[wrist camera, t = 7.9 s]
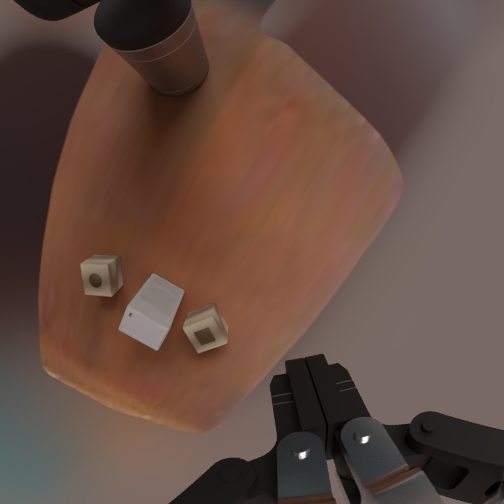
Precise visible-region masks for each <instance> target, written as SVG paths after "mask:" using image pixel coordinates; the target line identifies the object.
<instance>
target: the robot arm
mask: <svg viewBox="0 0 504 504" xmlns="http://www.w3.org/2000/svg"><path fill="white" fill-rule="evenodd" d="M14 1H15V2H16V3H17V4H19V5H20V6H21V7H22V8H24V9H25V10H26V11H28V12H29V13H31V14H33V15H34V16H36V17H38V18H41V19H43V20H48V21H58V20H62V19H64V18H67V17H69V16H71V15H73V14H76V13H78V12H80V11H82V10H83V9H86V8H88V7H90V6H92V5H94V4H96V3H98V2H100V1H101V2H100V4H99V5H98V7H97V10H96V13H95V16H94V27H95V30H96V32H97V34H98V35H99V37H100V38H101V39H102V40H103V41H104V42H105V43H107V44H108V45H109V46H110V47H111V48H112V49H113V50H114V51H115V52H116V53H118V54H119V55H120V56H121V57H122V58H123V59H124V60H125V61H126V62H127V63H128V64H130V65H131V66H132V67H133V68H134V69H135V70H136V71H137V72H138V73H139V74H140V75H141V76H142V77H143V78H144V79H145V80H146V81H147V82H148V83H149V84H150V85H151V86H152V87H154V88H155V89H156V90H157V91H158V92H160V93H162V94H164V95H168V96H179V95H183V94H187V93H189V92H191V91H193V90H194V89H196V88H197V87H198V86H199V85H200V84H201V83H202V82H203V81H204V79H205V78H206V76H207V73H208V68H209V63H208V58H207V55H206V51H205V47H204V44H203V40H202V37H201V33H200V30H199V26H198V23H197V19H196V16H195V13H194V10H193V6H192V3H191V0H14ZM285 366H286V374H281V375H275V376H274V377H273V379H272V381H271V383H270V391H271V398H272V405H273V411H274V418H275V425H276V432H277V441H276V444H275V446H274V447H273V448H272V450H271V451H270V452H269V453H267V454H265V455H264V456H261V457H259V458H257V459H254V460H252V461H249V462H248V461H246V460H243V459H240V458H226V459H222V460H220V461H218V462H216V463H215V464H214V465H213V466H211V467H210V468H209V469H208V470H207V471H206V472H205V473H204V474H203V475H202V476H201V477H199V478H198V479H197V480H196V481H195V482H194V483H193V484H191V485H190V486H189V487H188V488H187V489H186V490H185V491H183V492H182V493H181V494H180V495H179V496H177V497H176V498H175V499H174V500H172V501H171V502H170V503H169V504H336V500H335V498H333V495H332V490H331V484H330V478H329V472H328V466H327V461H326V460H330V459H333V460H334V463H335V466H336V470H335V476H336V479H337V482H338V484H339V486H340V489H341V491H342V494H343V496H344V499H345V501H346V504H444V503H443V501H442V500H441V498H440V496H439V495H443V496H446V497H449V498H452V499H456V500H460V501H464V502H468V503H472V504H504V430H500V429H496V428H492V427H488V426H484V425H479V424H475V423H472V422H468V421H465V420H461V419H458V418H454V417H451V416H447V415H444V414H441V413H438V412H432V411H428V412H423V413H420V414H419V415H417V416H416V417H415V418H413V420H412V422H411V423H410V424H401V425H385V424H381V423H380V422H379V421H378V420H376V419H374V418H372V417H371V416H370V414H369V412H368V410H367V408H366V406H365V404H364V402H363V400H362V398H361V396H360V394H359V392H358V390H357V389H356V387H355V384H354V382H353V381H352V378H351V376H350V374H349V373H348V371H347V370H346V369H345V368H344V367H342V366H341V365H340V364H339V363H336V364H332V365H328V363H327V361H326V359H325V356H324V355H323V354H319V355H314V356H309V357H305V358H299V359H293V360H287V361H285ZM438 494H439V495H438Z"/></svg>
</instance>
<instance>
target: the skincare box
mask: <svg viewBox="0 0 504 504" xmlns="http://www.w3.org/2000/svg"><path fill="white" fill-rule="evenodd" d="M184 293H185V290H183V289H181V288H179V287H177V286H176V285H174V284H172V283H170V282H169V281H167V280H165V279H163V278H162V277H160V276H158V275H156V274H155V273H152V275H151V276H150V277H149V278H148V280H147V281H146V282H145V284H144V285H143V286H142V287H141V289H140V290H139V291H138V293H137V294H136V295H135V297H134V298H133V299H132V301H131V302H130V303H129V304H128V306H127V308H126V310H125V313H124V315H123V318H122V321H121V323H120V326H119V330H120V331H122V332H123V333H125V334H127V335H129V336H130V337H132V338H134V339H136V340H138V341H139V342H141V343H143V344H145V345H147V346H149V347H151V348H153V349H154V350H156V351H158V350H159V348H160V346H161V345H162V343H163V341H164V339H165V338H166V336H167V334H168V332H169V330H170V328H171V325H172V322H173V320H174V317H175V315H176V312H177V310H178V307H179V305H180V302H181V300H182V298H183V295H184Z"/></svg>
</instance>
